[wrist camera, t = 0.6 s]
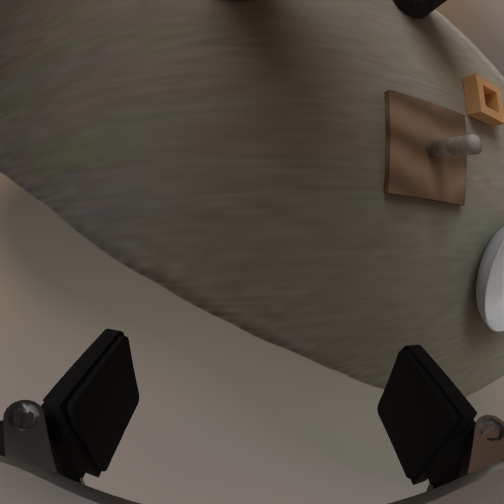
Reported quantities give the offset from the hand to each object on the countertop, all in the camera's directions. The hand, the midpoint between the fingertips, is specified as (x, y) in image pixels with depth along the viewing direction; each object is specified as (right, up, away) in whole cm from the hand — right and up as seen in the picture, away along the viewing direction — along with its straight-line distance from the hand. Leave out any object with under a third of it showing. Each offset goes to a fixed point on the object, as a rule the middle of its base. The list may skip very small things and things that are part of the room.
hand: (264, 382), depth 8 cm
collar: (+39, +30, +22) cm, 55 cm away
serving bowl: (+47, +1, +30) cm, 56 cm away
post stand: (+26, +19, +25) cm, 41 cm away
